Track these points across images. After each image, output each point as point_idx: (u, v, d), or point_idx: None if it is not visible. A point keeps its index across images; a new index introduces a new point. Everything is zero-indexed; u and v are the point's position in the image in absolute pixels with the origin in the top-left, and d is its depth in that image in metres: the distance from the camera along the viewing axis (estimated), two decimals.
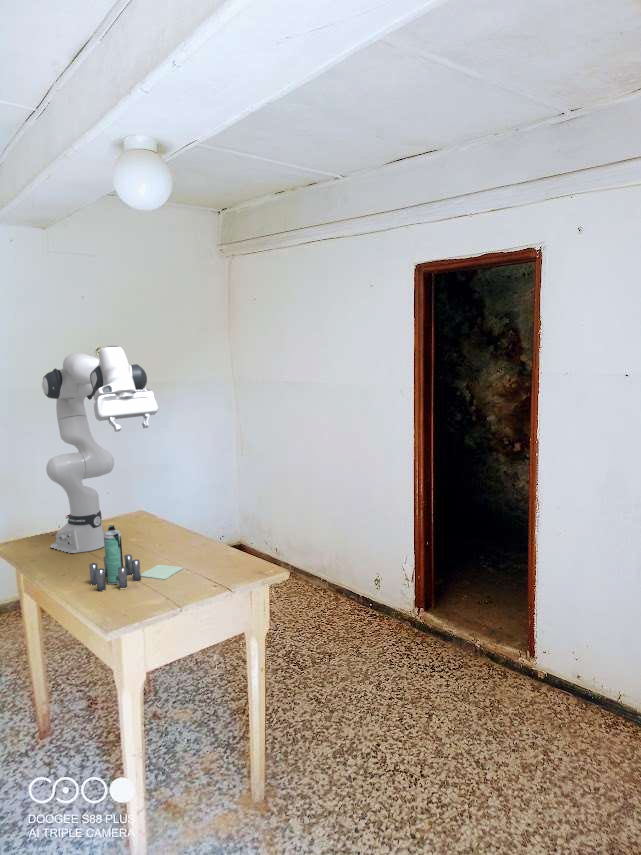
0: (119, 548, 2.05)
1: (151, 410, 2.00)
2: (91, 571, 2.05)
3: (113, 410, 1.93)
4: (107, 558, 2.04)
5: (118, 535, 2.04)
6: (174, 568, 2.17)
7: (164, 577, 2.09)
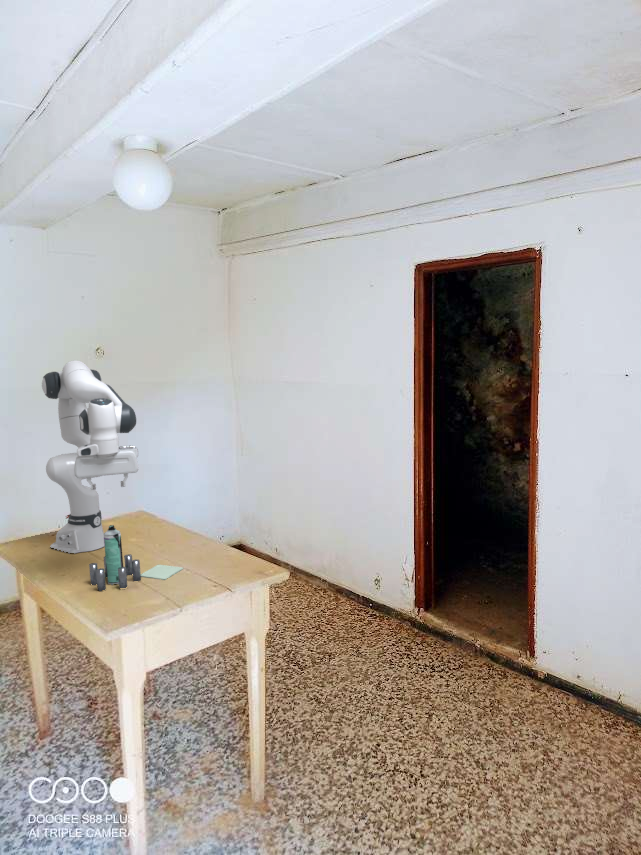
0: (119, 548, 2.05)
1: (130, 472, 2.03)
2: (91, 571, 2.05)
3: (90, 471, 1.99)
4: (107, 558, 2.04)
5: (118, 535, 2.04)
6: (174, 568, 2.17)
7: (164, 577, 2.09)
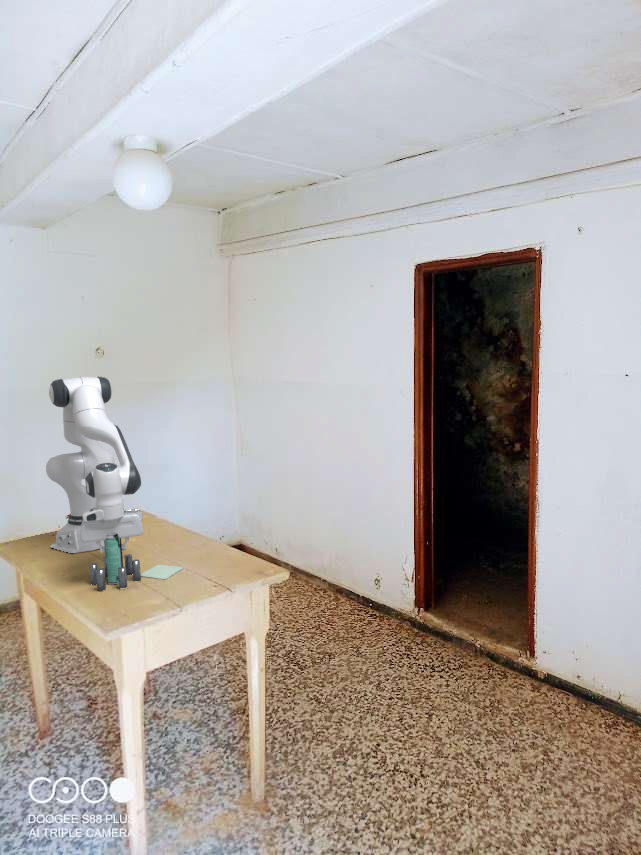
0: (119, 548, 2.05)
1: (134, 535, 2.06)
2: (91, 571, 2.05)
3: (95, 536, 2.02)
4: (107, 558, 2.04)
5: None
6: (174, 568, 2.17)
7: (164, 577, 2.09)
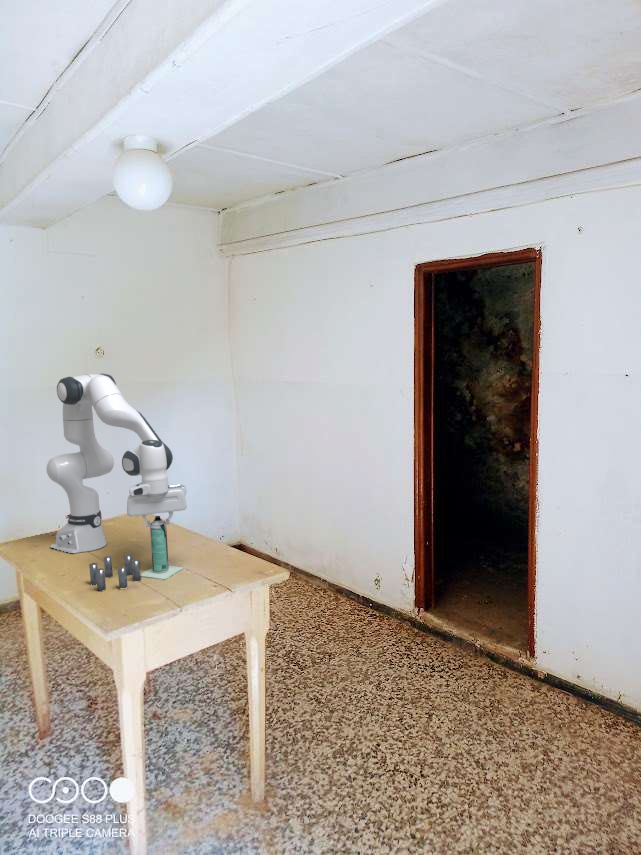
0: (165, 538, 2.13)
1: (178, 509, 2.12)
2: (91, 571, 2.05)
3: (141, 510, 2.08)
4: (153, 547, 2.12)
5: (164, 525, 2.12)
6: (174, 568, 2.17)
7: (164, 577, 2.09)
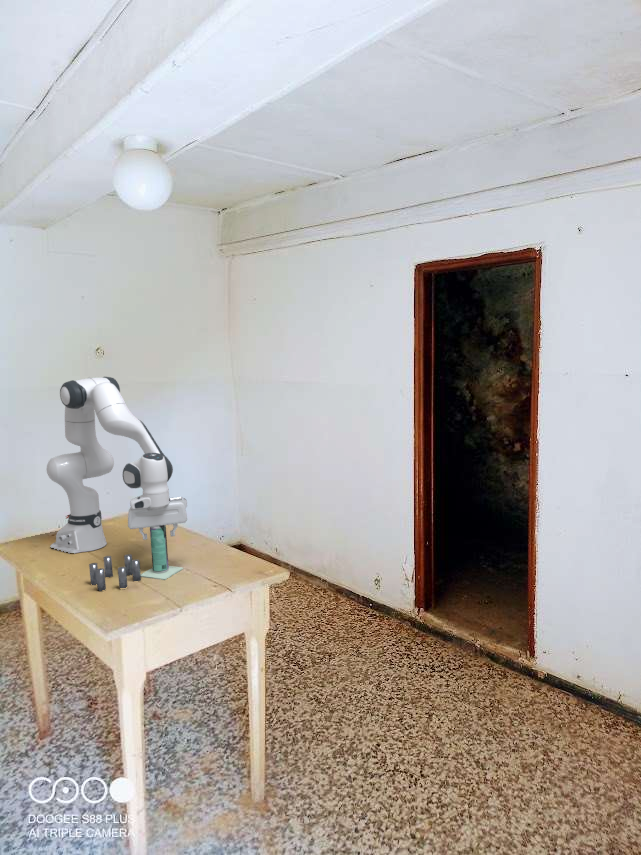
0: (164, 538, 2.13)
1: (179, 522, 2.13)
2: (91, 571, 2.05)
3: (142, 523, 2.09)
4: (153, 548, 2.12)
5: (164, 525, 2.12)
6: (174, 568, 2.17)
7: (164, 577, 2.09)
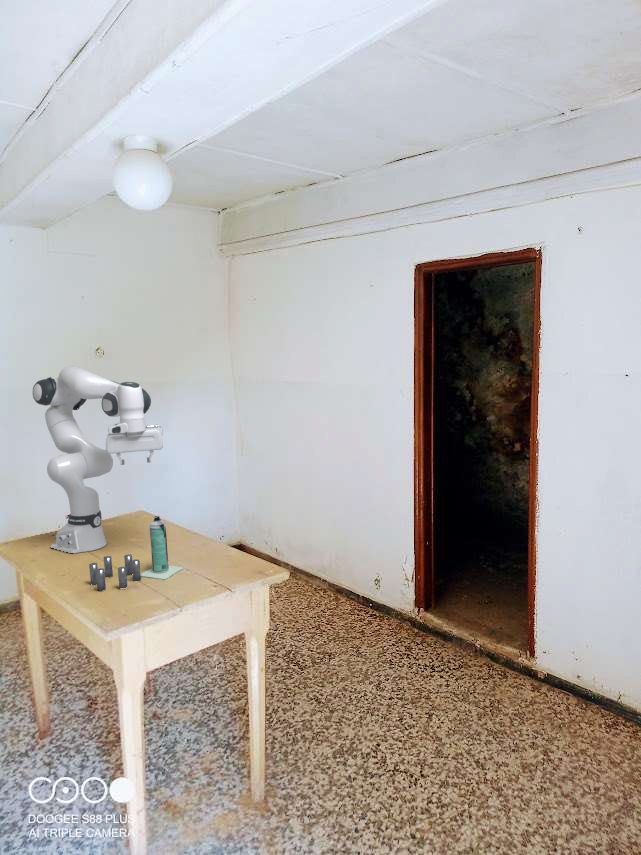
0: (164, 538, 2.13)
1: (155, 448, 2.23)
2: (91, 571, 2.05)
3: (120, 448, 2.19)
4: (153, 547, 2.12)
5: (164, 525, 2.12)
6: (174, 568, 2.17)
7: (164, 577, 2.09)
